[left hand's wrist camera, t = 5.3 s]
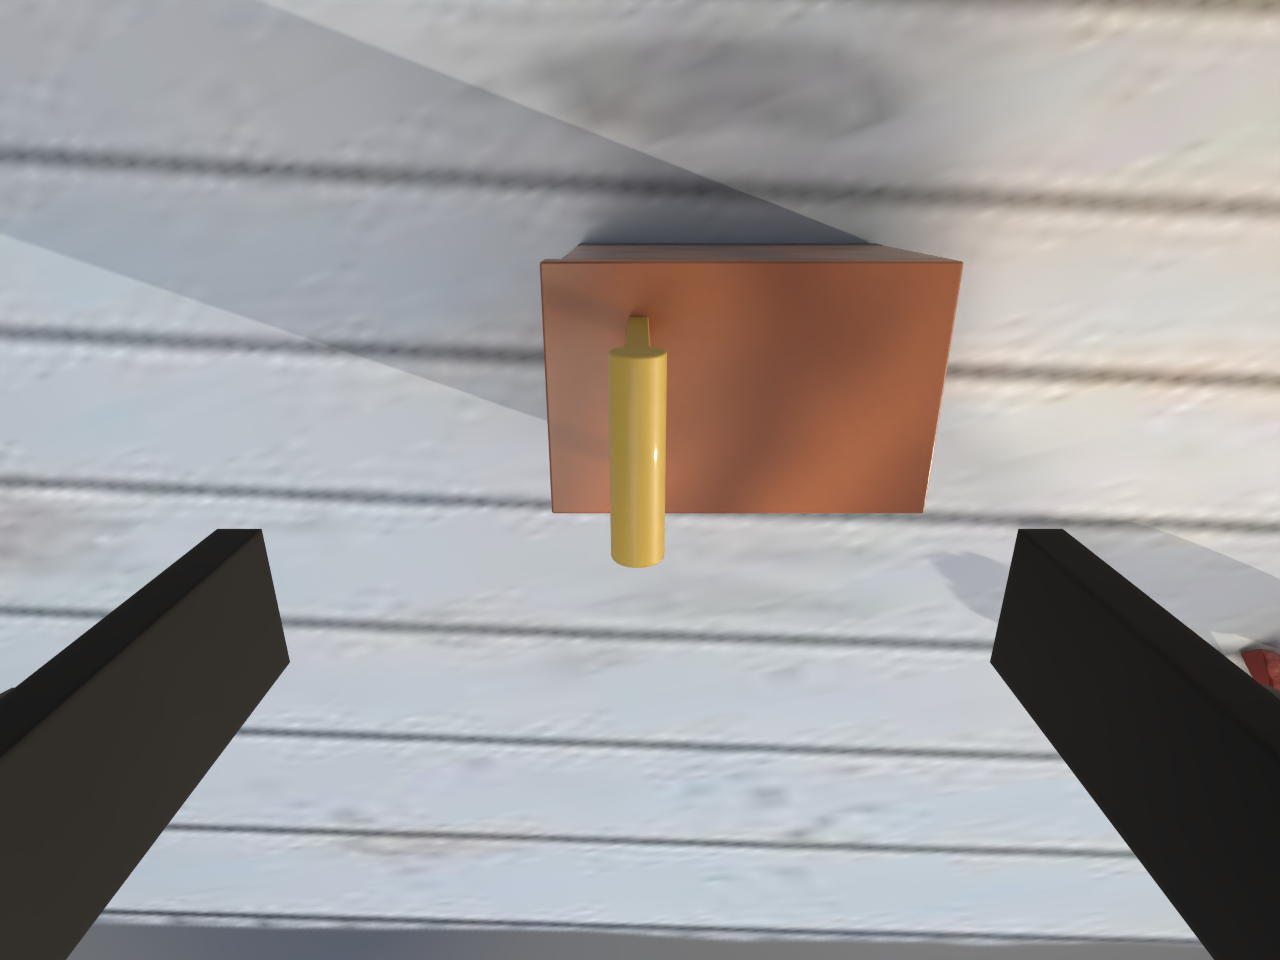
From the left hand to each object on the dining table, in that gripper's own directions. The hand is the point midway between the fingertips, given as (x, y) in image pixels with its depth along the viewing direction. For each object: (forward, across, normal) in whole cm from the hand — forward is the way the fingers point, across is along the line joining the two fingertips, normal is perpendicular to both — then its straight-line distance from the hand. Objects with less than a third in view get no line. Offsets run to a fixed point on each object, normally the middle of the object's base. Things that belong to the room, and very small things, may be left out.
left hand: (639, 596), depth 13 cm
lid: (+15, +4, 0) cm, 15 cm away
